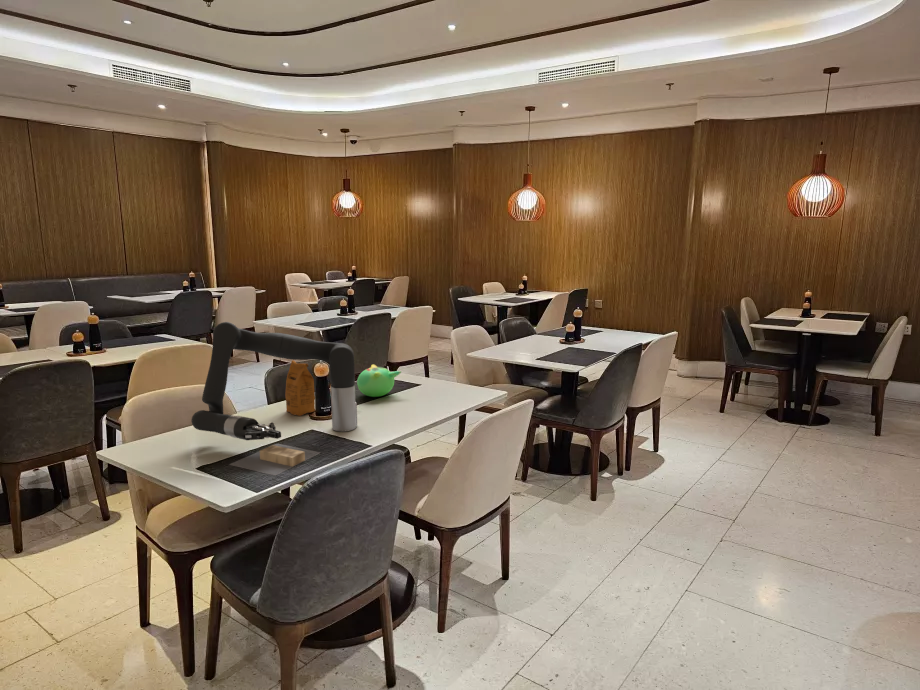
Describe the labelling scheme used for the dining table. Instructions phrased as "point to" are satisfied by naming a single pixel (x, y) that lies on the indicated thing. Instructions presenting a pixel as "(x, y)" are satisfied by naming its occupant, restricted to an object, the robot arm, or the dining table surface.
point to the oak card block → (282, 455)
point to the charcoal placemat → (269, 467)
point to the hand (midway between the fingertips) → (279, 435)
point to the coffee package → (299, 390)
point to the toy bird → (376, 381)
